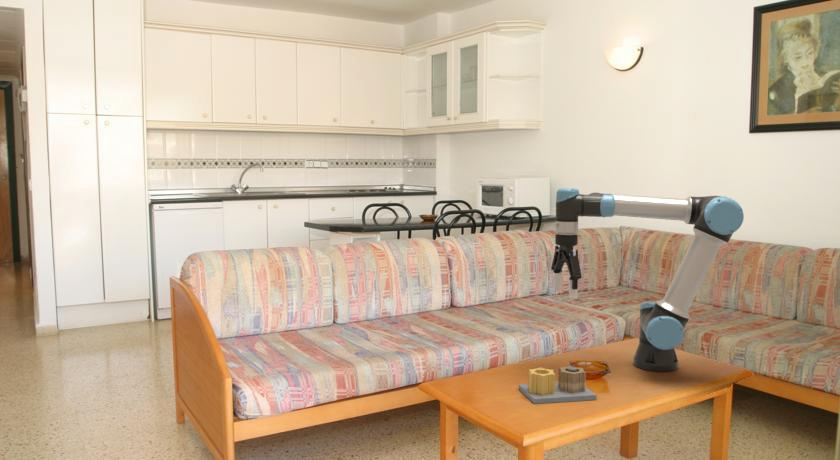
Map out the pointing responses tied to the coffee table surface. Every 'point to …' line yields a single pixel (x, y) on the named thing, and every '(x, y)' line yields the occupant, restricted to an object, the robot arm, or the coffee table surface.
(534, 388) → the ochre gear
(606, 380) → the coffee table surface
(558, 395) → the gear board
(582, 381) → the gear
